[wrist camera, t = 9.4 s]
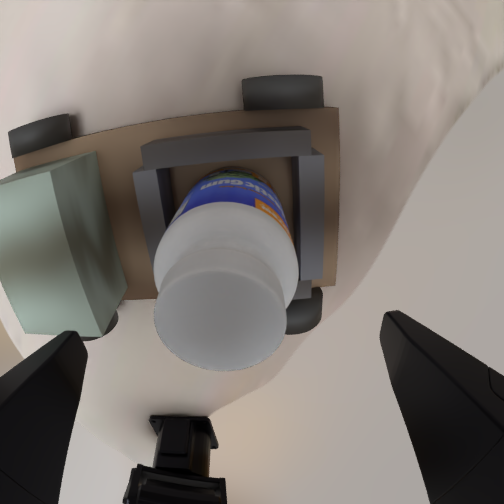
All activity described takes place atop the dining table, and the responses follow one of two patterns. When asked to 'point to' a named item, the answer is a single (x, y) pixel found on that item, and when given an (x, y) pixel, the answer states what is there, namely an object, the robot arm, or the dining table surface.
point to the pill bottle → (225, 273)
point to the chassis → (159, 202)
